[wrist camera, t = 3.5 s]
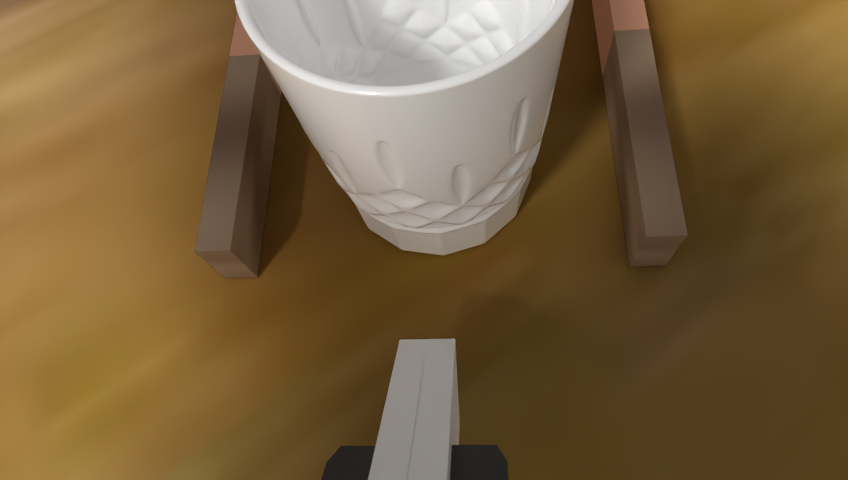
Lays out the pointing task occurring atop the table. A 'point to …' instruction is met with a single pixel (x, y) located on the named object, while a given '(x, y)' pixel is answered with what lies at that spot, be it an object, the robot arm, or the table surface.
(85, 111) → the table surface
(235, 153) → the lane walls
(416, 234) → the white cup
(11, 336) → the table surface
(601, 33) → the walls
